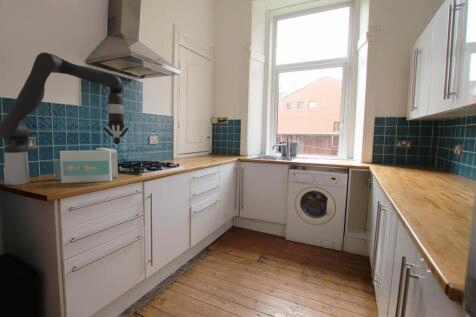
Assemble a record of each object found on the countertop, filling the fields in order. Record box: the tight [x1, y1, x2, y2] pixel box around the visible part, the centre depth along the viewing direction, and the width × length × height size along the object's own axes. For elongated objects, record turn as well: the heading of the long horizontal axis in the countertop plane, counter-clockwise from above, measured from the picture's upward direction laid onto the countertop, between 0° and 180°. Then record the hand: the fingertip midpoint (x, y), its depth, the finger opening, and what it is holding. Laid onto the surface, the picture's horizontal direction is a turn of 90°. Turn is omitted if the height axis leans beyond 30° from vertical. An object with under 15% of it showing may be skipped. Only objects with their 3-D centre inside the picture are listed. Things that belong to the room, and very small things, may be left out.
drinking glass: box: [53, 158, 61, 181], centre depth 146 cm, size 10×10×12 cm
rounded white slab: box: [95, 147, 119, 179], centre depth 161 cm, size 29×8×18 cm, turn 44°
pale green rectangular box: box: [59, 150, 113, 184], centre depth 136 cm, size 25×13×18 cm, turn 108°
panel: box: [63, 160, 110, 176], centre depth 132 cm, size 22×1×8 cm, turn 108°
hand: (117, 144), depth 135 cm, fingers closed
